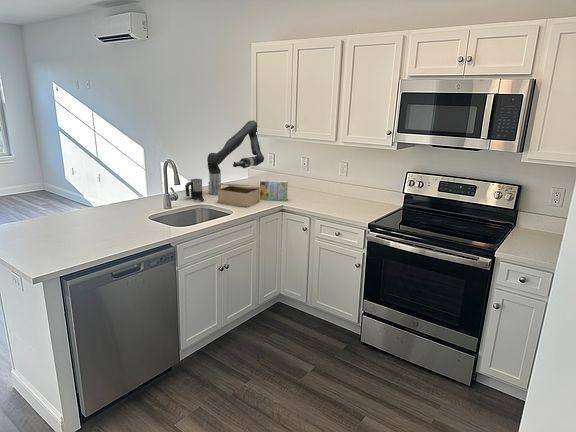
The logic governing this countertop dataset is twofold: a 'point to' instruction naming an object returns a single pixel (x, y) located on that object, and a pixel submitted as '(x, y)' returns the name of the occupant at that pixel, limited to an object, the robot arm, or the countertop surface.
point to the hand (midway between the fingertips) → (234, 165)
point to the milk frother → (195, 189)
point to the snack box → (273, 190)
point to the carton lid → (238, 185)
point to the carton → (239, 196)
